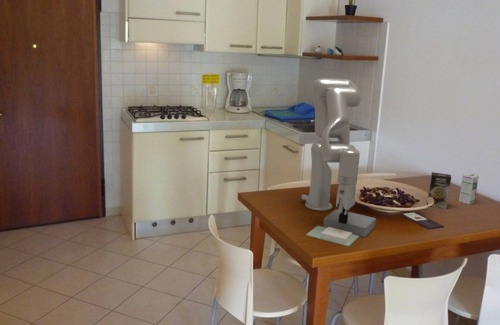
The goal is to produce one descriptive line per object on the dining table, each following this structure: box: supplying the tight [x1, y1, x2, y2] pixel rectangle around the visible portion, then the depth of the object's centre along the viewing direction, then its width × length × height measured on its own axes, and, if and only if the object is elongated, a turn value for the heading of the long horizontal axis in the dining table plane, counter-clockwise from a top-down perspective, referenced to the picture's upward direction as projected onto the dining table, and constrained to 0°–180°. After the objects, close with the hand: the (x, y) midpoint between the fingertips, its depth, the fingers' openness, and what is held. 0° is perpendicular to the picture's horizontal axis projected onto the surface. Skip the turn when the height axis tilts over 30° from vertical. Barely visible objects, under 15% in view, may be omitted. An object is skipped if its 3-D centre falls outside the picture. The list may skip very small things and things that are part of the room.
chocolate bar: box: [400, 211, 445, 230], centre depth 217 cm, size 9×1×18 cm
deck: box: [322, 208, 377, 238], centre depth 205 cm, size 18×14×4 cm
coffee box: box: [427, 171, 452, 210], centre depth 237 cm, size 9×6×16 cm
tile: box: [321, 227, 352, 244], centre depth 193 cm, size 10×8×2 cm
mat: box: [305, 225, 360, 248], centre depth 195 cm, size 18×12×1 cm, turn 59°
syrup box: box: [458, 172, 480, 205], centre depth 246 cm, size 6×6×14 cm
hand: (342, 222), depth 197 cm, fingers closed
